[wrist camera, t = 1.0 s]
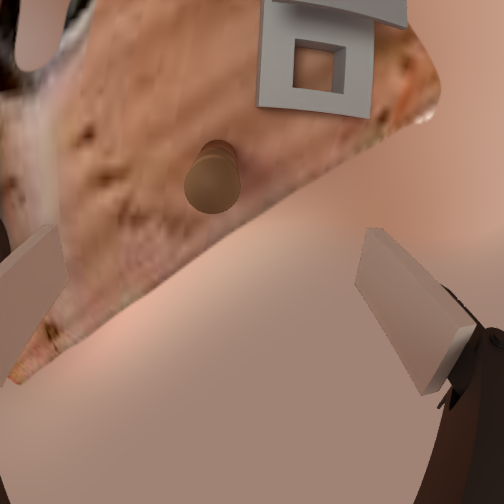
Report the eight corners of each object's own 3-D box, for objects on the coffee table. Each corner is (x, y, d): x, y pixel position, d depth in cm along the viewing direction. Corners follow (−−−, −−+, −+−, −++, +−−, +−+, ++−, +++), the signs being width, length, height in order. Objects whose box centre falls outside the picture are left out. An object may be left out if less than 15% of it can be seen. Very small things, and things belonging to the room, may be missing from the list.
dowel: (199, 173, 35) (185, 213, 22) (200, 139, 33) (184, 159, 20) (234, 174, 35) (239, 214, 23) (235, 140, 33) (241, 160, 21)
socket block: (255, 106, 32) (268, 105, 22) (261, -17, 25) (276, -59, 15) (355, 117, 33) (402, 124, 23) (360, 0, 26) (404, -27, 16)
